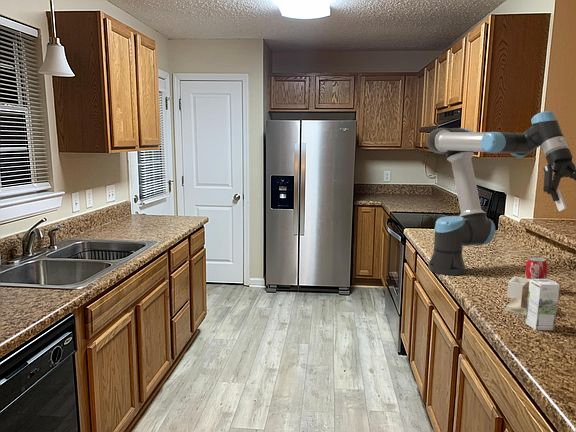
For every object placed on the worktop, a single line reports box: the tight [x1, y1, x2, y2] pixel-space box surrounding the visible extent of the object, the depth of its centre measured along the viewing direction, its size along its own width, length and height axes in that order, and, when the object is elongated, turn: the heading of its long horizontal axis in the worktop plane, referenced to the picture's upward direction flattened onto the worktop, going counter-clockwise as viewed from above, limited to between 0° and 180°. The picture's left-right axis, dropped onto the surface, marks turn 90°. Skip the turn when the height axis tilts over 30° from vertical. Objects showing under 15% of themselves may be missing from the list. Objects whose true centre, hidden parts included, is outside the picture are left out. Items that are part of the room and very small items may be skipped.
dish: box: [506, 276, 530, 299], centre depth 160 cm, size 9×9×6 cm
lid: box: [505, 282, 529, 315], centre depth 147 cm, size 11×11×8 cm
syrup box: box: [524, 278, 561, 331], centre depth 132 cm, size 6×6×14 cm
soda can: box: [524, 256, 548, 279], centre depth 169 cm, size 7×7×12 cm
